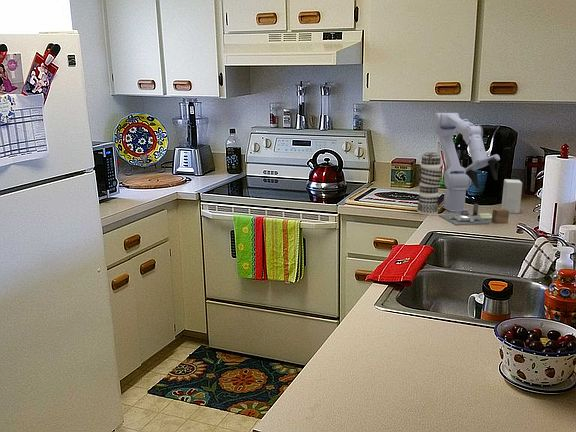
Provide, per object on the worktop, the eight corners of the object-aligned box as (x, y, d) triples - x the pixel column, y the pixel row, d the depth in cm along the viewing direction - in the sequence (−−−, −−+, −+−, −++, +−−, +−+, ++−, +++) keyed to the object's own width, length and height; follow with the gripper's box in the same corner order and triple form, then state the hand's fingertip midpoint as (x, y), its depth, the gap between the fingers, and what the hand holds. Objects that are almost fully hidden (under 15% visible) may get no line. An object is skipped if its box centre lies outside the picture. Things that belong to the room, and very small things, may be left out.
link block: (491, 221, 242) (492, 208, 241) (503, 221, 243) (504, 208, 242) (496, 223, 239) (497, 210, 238) (507, 223, 240) (509, 210, 239)
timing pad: (472, 215, 252) (472, 213, 252) (488, 214, 253) (488, 212, 253) (482, 219, 244) (482, 218, 244) (498, 219, 246) (498, 217, 246)
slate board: (439, 216, 250) (439, 214, 250) (471, 214, 252) (471, 213, 252) (455, 225, 236) (456, 223, 235) (489, 223, 238) (489, 222, 238)
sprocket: (443, 214, 248) (444, 201, 247) (471, 213, 250) (472, 200, 249) (457, 222, 236) (458, 208, 235) (486, 221, 239) (487, 207, 237)
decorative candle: (418, 209, 262) (421, 150, 256) (440, 211, 259) (444, 152, 253) (414, 213, 254) (418, 153, 248) (437, 215, 250) (441, 154, 245)
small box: (519, 213, 256) (522, 182, 253) (503, 212, 257) (506, 182, 254) (516, 209, 263) (519, 179, 260) (500, 208, 265) (503, 178, 261)
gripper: (456, 157, 242) (464, 188, 237) (489, 141, 233) (498, 172, 228) (465, 162, 247) (473, 192, 241) (498, 147, 238) (507, 177, 233)
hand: (486, 183), depth 235 cm, fingers open, 7 cm apart
